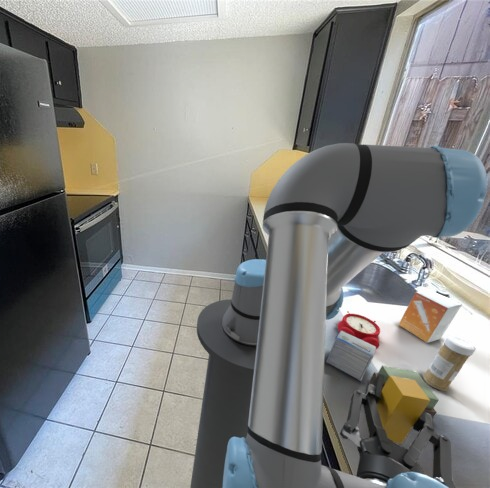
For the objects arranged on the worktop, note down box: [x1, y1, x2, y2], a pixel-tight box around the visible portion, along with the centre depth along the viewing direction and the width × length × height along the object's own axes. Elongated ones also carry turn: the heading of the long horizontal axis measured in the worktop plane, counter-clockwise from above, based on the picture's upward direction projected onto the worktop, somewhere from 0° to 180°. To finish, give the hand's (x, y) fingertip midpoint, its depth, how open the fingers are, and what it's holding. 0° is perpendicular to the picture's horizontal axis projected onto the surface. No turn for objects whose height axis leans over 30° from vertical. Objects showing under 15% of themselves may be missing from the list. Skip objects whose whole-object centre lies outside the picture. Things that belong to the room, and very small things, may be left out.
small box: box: [398, 288, 463, 344], centre depth 77 cm, size 8×6×13 cm
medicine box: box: [325, 331, 377, 382], centre depth 65 cm, size 8×4×9 cm, turn 44°
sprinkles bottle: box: [422, 334, 477, 391], centre depth 61 cm, size 5×5×14 cm
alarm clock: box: [337, 311, 381, 350], centre depth 76 cm, size 10×6×15 cm
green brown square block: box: [368, 365, 440, 419], centre depth 58 cm, size 8×8×6 cm
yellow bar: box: [377, 376, 430, 445], centre depth 47 cm, size 4×4×12 cm
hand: (398, 389), depth 51 cm, fingers closed on yellow bar, 5 cm apart
